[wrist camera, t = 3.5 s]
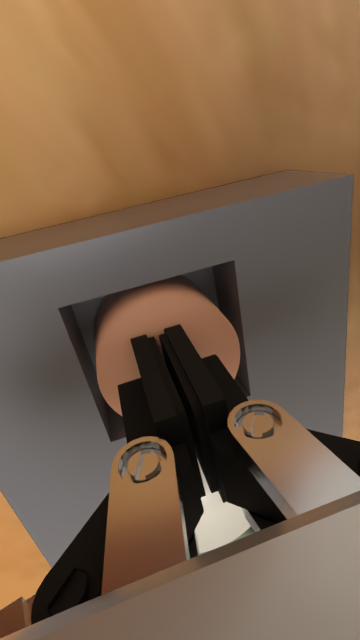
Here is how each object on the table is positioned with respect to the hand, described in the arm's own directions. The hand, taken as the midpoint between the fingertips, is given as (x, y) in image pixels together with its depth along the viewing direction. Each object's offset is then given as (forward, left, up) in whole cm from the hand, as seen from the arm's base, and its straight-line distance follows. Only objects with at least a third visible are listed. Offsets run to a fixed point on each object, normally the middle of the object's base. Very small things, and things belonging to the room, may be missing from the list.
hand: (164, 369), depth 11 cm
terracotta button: (0, 0, -4) cm, 4 cm away
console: (0, +7, -5) cm, 8 cm away
